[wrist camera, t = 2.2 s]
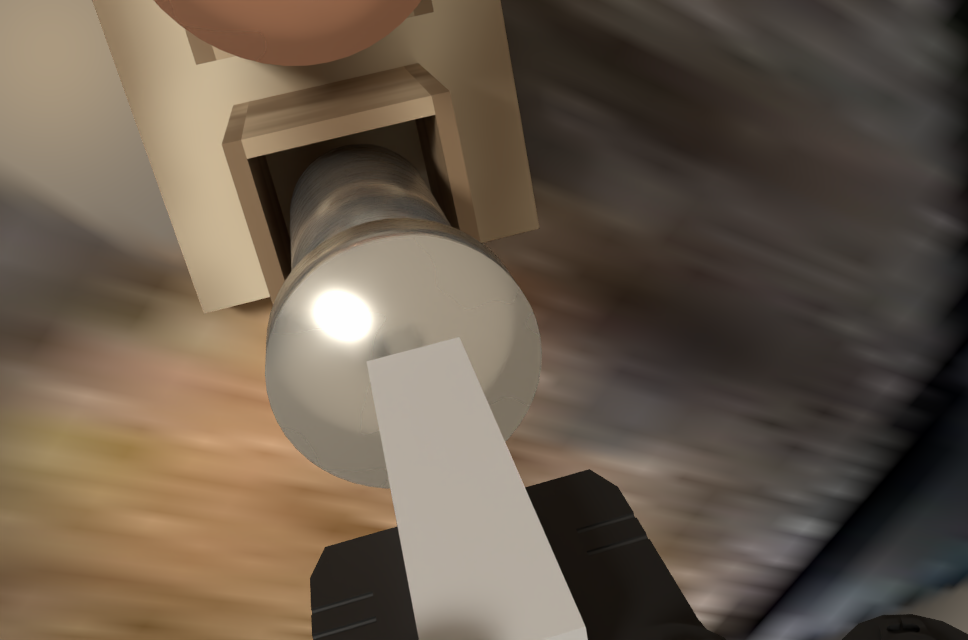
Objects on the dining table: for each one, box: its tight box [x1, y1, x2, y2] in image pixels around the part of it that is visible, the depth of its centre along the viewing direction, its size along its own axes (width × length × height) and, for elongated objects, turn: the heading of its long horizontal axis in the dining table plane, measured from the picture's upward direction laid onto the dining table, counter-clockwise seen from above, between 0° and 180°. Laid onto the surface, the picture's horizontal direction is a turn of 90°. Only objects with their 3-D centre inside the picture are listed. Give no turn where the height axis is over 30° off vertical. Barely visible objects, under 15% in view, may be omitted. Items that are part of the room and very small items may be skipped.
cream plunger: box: [265, 144, 542, 488], centre depth 21 cm, size 5×5×10 cm
